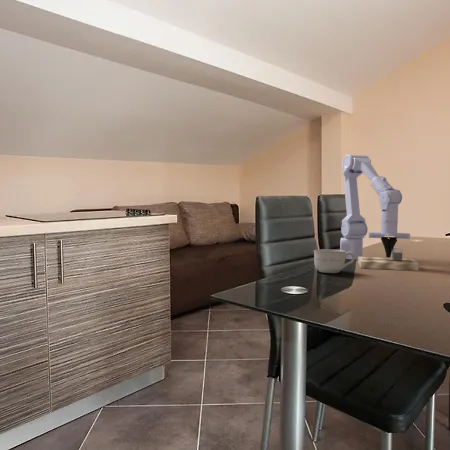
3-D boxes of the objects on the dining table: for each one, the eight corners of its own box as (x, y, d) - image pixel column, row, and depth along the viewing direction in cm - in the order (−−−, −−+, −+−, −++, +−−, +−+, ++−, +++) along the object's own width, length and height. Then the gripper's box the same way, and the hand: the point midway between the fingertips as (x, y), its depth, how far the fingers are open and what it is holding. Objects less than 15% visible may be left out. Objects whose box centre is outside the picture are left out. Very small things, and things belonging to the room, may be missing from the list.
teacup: (309, 273, 141) (310, 250, 140) (318, 268, 150) (318, 247, 149) (350, 277, 134) (351, 253, 133) (356, 271, 144) (357, 249, 143)
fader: (393, 260, 151) (394, 249, 151) (391, 258, 155) (392, 247, 155) (402, 260, 150) (402, 249, 150) (400, 258, 154) (400, 248, 154)
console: (360, 268, 150) (360, 261, 150) (357, 262, 162) (358, 256, 162) (418, 270, 146) (418, 263, 145) (411, 265, 157) (411, 258, 157)
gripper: (370, 222, 150) (369, 258, 151) (412, 222, 147) (410, 259, 148) (368, 220, 157) (367, 255, 158) (408, 221, 153) (407, 256, 155)
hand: (388, 257), depth 153 cm, fingers closed
